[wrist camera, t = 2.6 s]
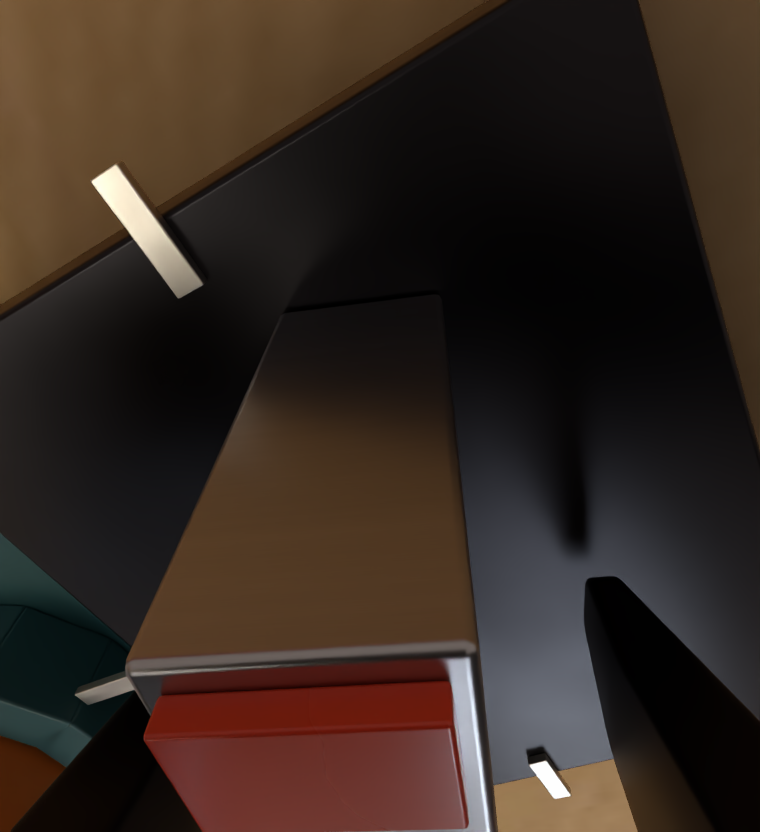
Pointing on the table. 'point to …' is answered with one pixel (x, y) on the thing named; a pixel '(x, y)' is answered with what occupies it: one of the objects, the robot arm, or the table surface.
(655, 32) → the table surface
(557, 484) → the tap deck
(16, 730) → the control block
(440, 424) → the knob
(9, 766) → the button
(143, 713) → the robot arm
